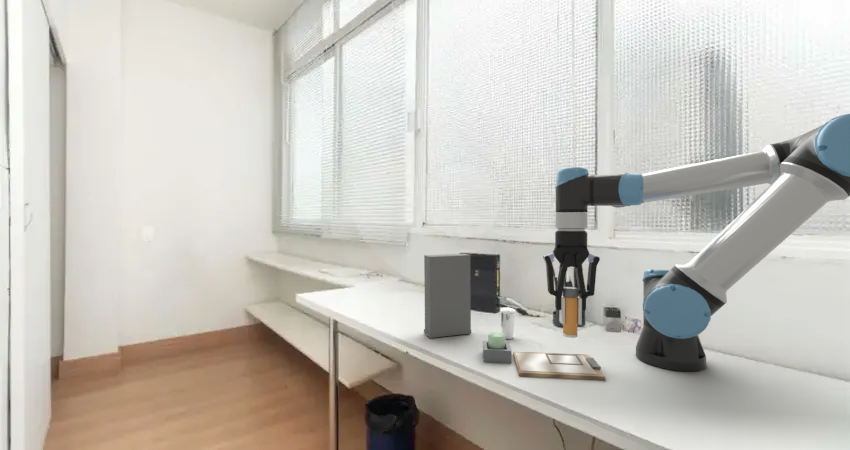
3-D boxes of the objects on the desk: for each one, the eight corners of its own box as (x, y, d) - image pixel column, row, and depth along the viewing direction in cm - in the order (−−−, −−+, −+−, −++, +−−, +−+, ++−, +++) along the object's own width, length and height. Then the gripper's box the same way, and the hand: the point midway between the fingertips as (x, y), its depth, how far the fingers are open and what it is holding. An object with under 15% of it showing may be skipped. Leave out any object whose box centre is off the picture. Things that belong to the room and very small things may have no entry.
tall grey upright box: (463, 328, 127) (462, 253, 126) (471, 334, 121) (470, 255, 120) (423, 333, 122) (423, 255, 122) (429, 339, 116) (429, 256, 116)
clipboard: (588, 357, 100) (588, 352, 100) (606, 380, 86) (606, 373, 86) (513, 354, 102) (513, 349, 102) (518, 375, 89) (518, 370, 89)
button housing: (509, 353, 104) (509, 342, 104) (511, 362, 97) (511, 351, 97) (483, 352, 105) (483, 341, 105) (483, 361, 98) (483, 349, 98)
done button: (504, 347, 102) (504, 333, 102) (505, 353, 98) (505, 338, 98) (488, 347, 103) (487, 332, 103) (488, 353, 99) (488, 337, 99)
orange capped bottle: (575, 333, 98) (576, 287, 98) (579, 338, 95) (579, 289, 94) (561, 333, 99) (561, 286, 98) (564, 337, 95) (564, 289, 95)
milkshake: (518, 340, 114) (518, 307, 114) (500, 339, 115) (499, 306, 115) (517, 335, 119) (517, 303, 118) (500, 334, 120) (500, 303, 119)
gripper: (600, 229, 99) (599, 320, 99) (535, 229, 101) (534, 317, 101) (610, 230, 91) (609, 328, 92) (539, 230, 93) (539, 325, 94)
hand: (570, 322), depth 97 cm, fingers closed on orange capped bottle, 3 cm apart
